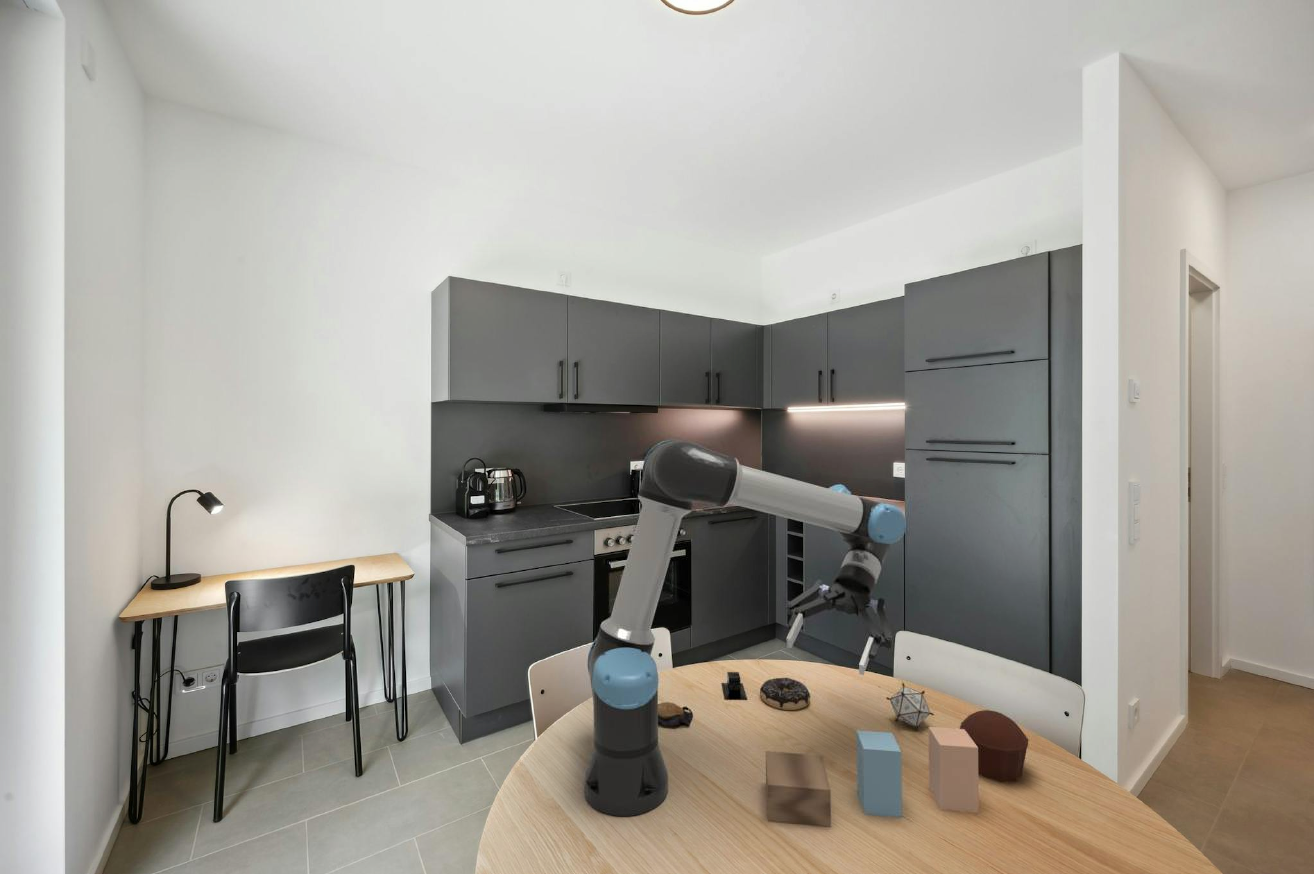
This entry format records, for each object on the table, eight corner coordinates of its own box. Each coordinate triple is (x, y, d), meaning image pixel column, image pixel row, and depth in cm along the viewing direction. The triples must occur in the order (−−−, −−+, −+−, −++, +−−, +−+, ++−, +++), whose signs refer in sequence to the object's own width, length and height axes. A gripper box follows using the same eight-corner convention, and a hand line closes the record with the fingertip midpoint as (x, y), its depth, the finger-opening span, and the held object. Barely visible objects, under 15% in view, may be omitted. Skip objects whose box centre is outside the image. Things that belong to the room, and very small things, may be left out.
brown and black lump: (642, 729, 124) (641, 712, 124) (649, 710, 132) (648, 695, 132) (690, 732, 122) (689, 715, 122) (694, 713, 130) (693, 697, 130)
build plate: (751, 705, 134) (751, 686, 134) (720, 705, 134) (720, 686, 134) (744, 682, 147) (744, 664, 146) (716, 682, 147) (716, 664, 147)
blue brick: (864, 814, 94) (863, 748, 94) (857, 791, 100) (856, 730, 100) (901, 817, 93) (901, 751, 93) (892, 794, 99) (892, 732, 99)
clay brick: (940, 809, 95) (939, 745, 95) (929, 787, 101) (928, 726, 101) (978, 813, 94) (978, 747, 94) (964, 790, 100) (964, 729, 100)
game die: (919, 741, 123) (950, 710, 121) (898, 738, 119) (929, 706, 116) (892, 705, 131) (920, 676, 128) (871, 701, 126) (900, 671, 124)
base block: (768, 820, 93) (767, 784, 93) (766, 783, 103) (765, 751, 103) (830, 826, 91) (830, 789, 91) (822, 788, 101) (822, 755, 101)
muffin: (964, 745, 115) (964, 696, 115) (1029, 762, 109) (1029, 711, 109) (956, 773, 105) (955, 720, 105) (1027, 795, 99) (1026, 738, 99)
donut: (778, 686, 143) (778, 670, 143) (819, 702, 135) (819, 685, 135) (751, 700, 136) (751, 684, 136) (793, 718, 127) (793, 700, 127)
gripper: (799, 548, 123) (759, 620, 109) (922, 581, 110) (895, 668, 96) (801, 572, 127) (763, 645, 113) (920, 607, 113) (893, 695, 99)
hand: (823, 656), depth 104 cm, fingers open, 13 cm apart
